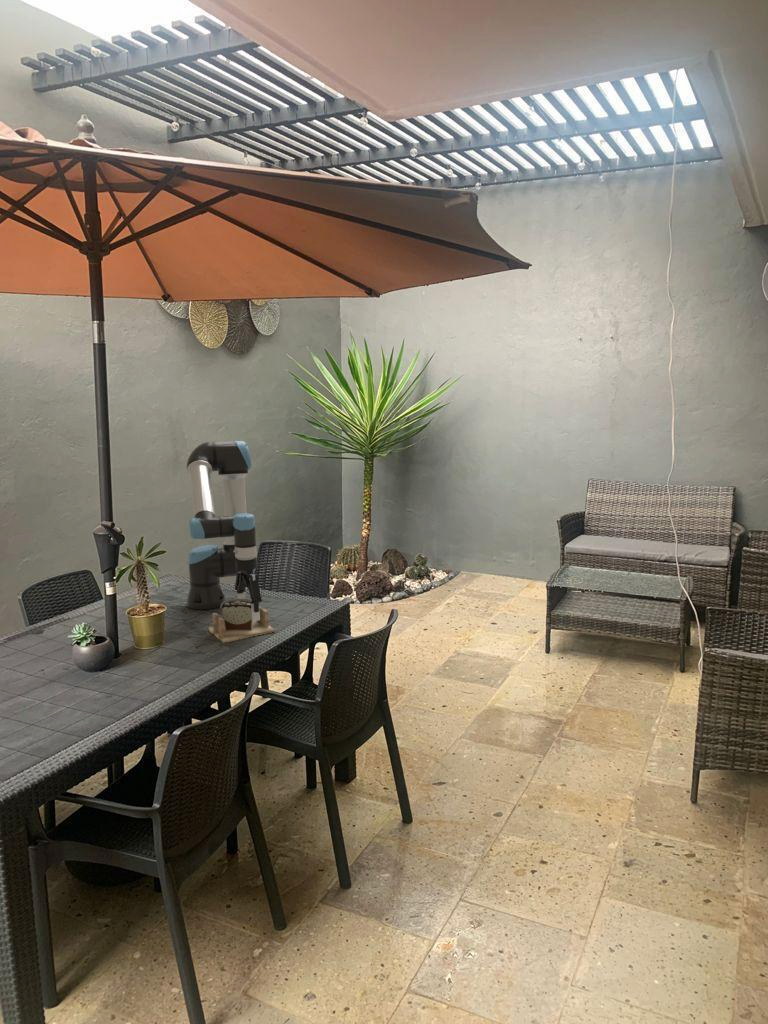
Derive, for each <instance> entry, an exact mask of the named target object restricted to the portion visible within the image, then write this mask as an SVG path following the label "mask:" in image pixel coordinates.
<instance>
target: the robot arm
mask: <svg viewBox="0 0 768 1024" xmlns="http://www.w3.org/2000/svg"><path fill="white" fill-rule="evenodd" d="M251 469H252V460H251V455H250V450H249V446H248V444H247V443H246V441H244V440H223V441H222V440H221V441H206V442H203V443H201V444H199V445H198V446H196V447H195V448H194V449H193V450H192V451H191V453H190V455H189V456H188V458H187V461H186V473H187V475H188V476H189V478H190V490H191V497H192V498H191V499H192V509H193V518H190V519H189V520H188V524H189V536H190V538H191V539H192V540H205V539H215V538H226V539H225V541H224V542H223V543H222V545H223V546H222V548H219V547H218V545H217V544H205V545H201V546H196V547H194V548H192V549H191V550H190V551H189V552H188V553H187V554H188V557H187V559H188V561H187V564H188V573H189V574H188V575H189V589H188V590H189V591H188V594H187V598H186V607H187V608H189V609H192V610H210V609H215V608H220V605H221V603H222V602H224V601H226V595H225V593H224V591H223V588H222V585H221V579H220V578H228V577H229V578H230V577H236V578H235V583H234V584H235V586H234V590H235V591H236V593H237V599H247V598H246V592H247V591H246V588H247V589H248V593H249V597H250V600H252V602H251V603H250V604H251V612H252V621H258V620H260V609H259V606H260V603H262V601H263V600H262V599H263V598H262V595H261V589H260V585H259V581H258V575H257V574H256V573H255V571H256V569H257V568H258V553H257V551H258V549H257V540H256V539H257V538H256V537H257V536H256V524H257V523H256V521H255V515H254V514H253V513H248V510H247V497H246V494H247V493H246V482H245V479H246V477H247V476H248V475H249V470H251ZM213 472H218V473H217V474H218V477H219V478H221V479H222V489H223V500H224V501H223V503H224V515H223V516H216V510H215V503H214V495H213V486H212V478H211V477H212V476H211V475H212V474H213Z"/></svg>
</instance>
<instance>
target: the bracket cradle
mask: <svg viewBox="0 0 768 1024" xmlns="http://www.w3.org/2000/svg"><path fill="white" fill-rule="evenodd" d="M259 609H260V620H258V621H252V631H225V623H224V619H223V616H220V615H219V614H218V613H217V612H212V626H208V627H207V631H209V632H210V633H211V634H212V635H213V634H214V636H215V638H217V639H218V640H219V641H220V642H222V644H226V643H229V642H235V641H239V639H240V640H244V638H245V639H249V637H250V638H254V637H253V636H255V637H259V636H258V635H260V636H264V635H269V634H273V633H272V632H274V633H276V629H275V628H273V627H272V626H271V625H270V624H269V623H270V622H269V621H270V620H269V610H268V609H266V608H265V607H263V606H261V605H259ZM268 633H269V634H268ZM263 634H264V635H263ZM225 642H226V643H225Z"/></svg>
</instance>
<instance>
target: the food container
mask: <svg viewBox="0 0 768 1024" xmlns="http://www.w3.org/2000/svg"><path fill="white" fill-rule="evenodd" d="M251 602H252V600H251V599H249V598H246V599H238V598H233V599H228V600H225V601H224V602H222V603H221V605H220V607H219V610H221V612H222V618H223V619H224V623H225V631H252V612H251V604H250V603H251Z"/></svg>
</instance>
